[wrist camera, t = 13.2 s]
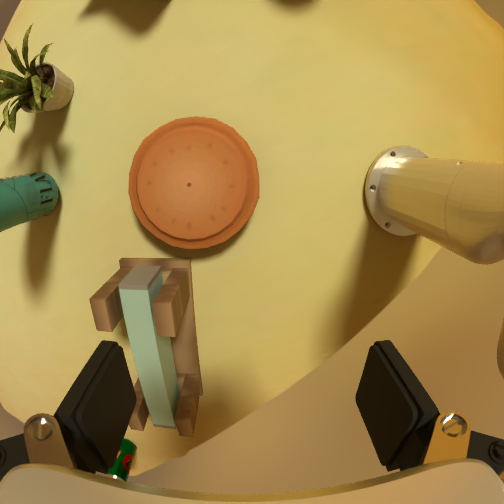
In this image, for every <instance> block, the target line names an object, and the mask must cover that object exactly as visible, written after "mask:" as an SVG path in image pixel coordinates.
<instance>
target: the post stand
mask: <svg viewBox="0 0 504 504" xmlns="http://www.w3.org/2000/svg"><path fill="white" fill-rule="evenodd" d="M119 263H120V269H119V270H118V271H117V272H116V273H115V274H114V275H113V276H112V277H111V278H110V279H109V280H108V281H107V282H106V283H105V284H104V285H103V286H102V287H101V288H100V289H99V290H98V291H97V292H96V293H95V294H94V295H93V296H92V297H91V298H90V299H89V300H90V304H91V308H92V313H93V317H94V321H95V325H96V329H97V331H106V332H112V331H113V330H114V328H115V327H116V325H117V324H118V322H119V321H120V320H121V318H122V317H123V315H124V314H123V309H122V303H121V298H120V292H119V286H118V284H119V283H120V282H121V281H122V279H123V278H124V277H125V276H126V275H127V274H128V273H129V272H130V271H131V270H132V269H133V268H134V267H135V266H136V265H139V266H161V267H162V277H163V286H162V287H161V289H160V290H159V292H158V294H157V295H156V297H155V299H154V300H153V302H152V306H153V313H154V319H155V326H156V332H157V336H166V337H170V340H171V346H172V352H173V358H174V364H175V370H176V375H177V381H178V386H179V391H180V399H179V404H178V408H177V412H176V417H175V421H176V425H177V429H178V432H179V436H189V437H193V434H194V428H195V421H196V414H197V408H198V402H199V395H202V393H203V390H202V382H201V373H200V365H199V356H198V346H197V336H196V325H195V314H194V301H193V288H192V272H191V259H177V258H121V259H120V260H119ZM134 390H135V393H136V398H137V401H136V405H135V408H134V411H133V413H132V416H131V419H130V422H129V426H130V428H131V429H133V430H140V431H144V427H145V424H146V421H147V418H148V415H149V410H148V407H147V404H146V400H145V397H144V394H143V391H142V387H141V384H140V380H139V377H138V380H137V382H136V384H135V387H134Z"/></svg>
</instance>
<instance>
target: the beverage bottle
mask: <svg viewBox="0 0 504 504" xmlns="http://www.w3.org/2000/svg"><path fill="white" fill-rule="evenodd" d="M6 178H7V179H2V180H1V179H0V232H1V231H4V230H6V229H9V228H11V227H13V226H16V225H18V224H21V223H25V222H27V221H30V220H31V221H32V220H33V219H34V220H35V219H36V218H38V217H41V216H44V215H45V216H46V215H47V214H49V213H50V212H52V210H53V209H54V208H55V206H56V203H57V200H58V187H57V184H56V182H55V180H54V179H53V178H52V177H51V176H50V175H48V174H45V172H44V173H37V174H36V173H33V174H31V175H26V174H25V176H24V175H23V176H22V175H20V176H19V177H16V176H15V177H14V176H13V177H11V178H9V177H6Z"/></svg>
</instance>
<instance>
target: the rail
mask: <svg viewBox="0 0 504 504" xmlns="http://www.w3.org/2000/svg"><path fill="white" fill-rule="evenodd" d="M118 286H119V292H120V298H121V303H122V309H123V314H124V319H125V324H126V328H127V333H128V337H129V342H130V346H131V350H132V354H133V358H134V362H135V366H136V369H137V373H138V377H139V380H140V384H141V387H142V391H143V394H144V397H145V400H146V404H147V407H148V410H149V413H150V416H151V419H152V422H153V425H154V426H156V427H164V428H173V429H176V427H177V425H176V421H175V417H176V412H177V408H178V404H179V399H180V391H179V386H178V381H177V375H176V370H175V364H174V358H173V352H172V346H171V340H170V337H166V336H157V332H156V326H155V319H154V313H153V306H152V302H153V300H154V299H155V297H156V295H157V294H158V292H159V290H160V289H161V287H162V286H163V277H162V267H161V266H139V265H136V266H135V267H134V268H133V269H132V270H131V271H130V272H129V273H128V274H127V275H126V276H125V277H124V278H123V279H122V281H121V282H120V283H119V284H118Z"/></svg>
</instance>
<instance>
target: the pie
mask: <svg viewBox="0 0 504 504" xmlns="http://www.w3.org/2000/svg"><path fill="white" fill-rule="evenodd" d="M129 196H130V200H131V204H132V208H133V210H134V212H135V214H136V216H137V217H138V219H139V220H140V222H141V224H142V225H143V226H144V227H145V228H146V229H147V230H148V231H150V232H151V233H152V234H153V235H154V236H155V237H157V238H158V239H160V240H162V241H164V242H165V243H167V244H169V245H171V246H173V247H179V248H184V249H201V248H209V247H212V246H214V245H217V244H220V243H223V242H225V241H227V240H228V239H229V238H231V237H232V236H233V235H235V234H236V233H237V232H239V231H240V230H241V228H242V227H243V226H244V225H245V223H246V222H247V221H248V220H249V218H250V217H251V216H252V214H253V212H254V209H255V207H256V204H257V202H258V199H259V174H258V168H257V161H256V158H255V156H254V154H253V152H252V151H251V149H250V147H249V145H248V144H247V142H246V141H245V140H244V139H243V138H242V137H241V136H240V135H239V134H238V133H237V132H236V131H235V130H234V129H233V128H232V127H230V126H228V125H226V124H224V123H222V122H220V121H218V120H216V119H212V118H205V117H188V118H181V119H176V120H174V121H172V122H169V123H167V124H165V125H163V126H161V127H159V128H158V129H157V130H155V131H154V132H153V133H151V134H150V135H149V136H148V137H146V138H145V139H144V140H143V142H142V143H141V145H140V147H139V148H138V150H137V152H136V154H135V155H134V158H133V162H132V166H131V169H130V173H129Z"/></svg>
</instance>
